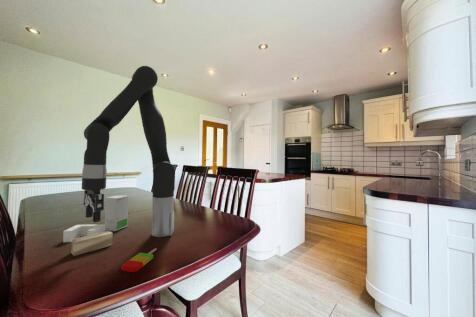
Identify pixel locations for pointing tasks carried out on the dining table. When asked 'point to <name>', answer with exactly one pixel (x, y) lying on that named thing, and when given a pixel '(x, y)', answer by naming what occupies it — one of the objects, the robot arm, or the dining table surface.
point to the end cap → (82, 231)
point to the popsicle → (137, 261)
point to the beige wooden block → (91, 242)
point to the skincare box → (116, 212)
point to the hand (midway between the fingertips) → (92, 219)
